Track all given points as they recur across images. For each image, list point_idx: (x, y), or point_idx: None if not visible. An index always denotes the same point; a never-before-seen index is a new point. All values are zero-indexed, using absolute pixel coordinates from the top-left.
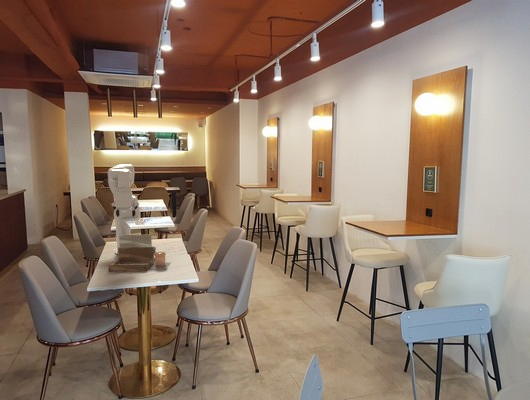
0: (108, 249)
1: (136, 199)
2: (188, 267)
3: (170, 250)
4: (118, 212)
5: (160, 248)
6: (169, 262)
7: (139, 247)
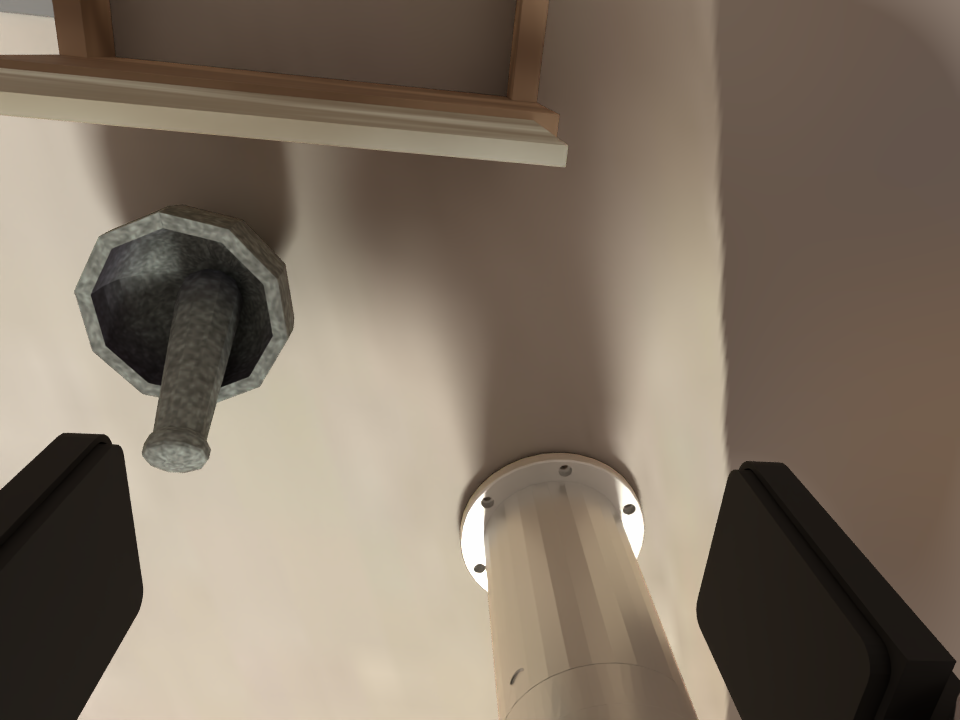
0: None
1: None
2: None
3: None
4: (789, 651)
5: (219, 625)
6: None
7: (204, 78)
